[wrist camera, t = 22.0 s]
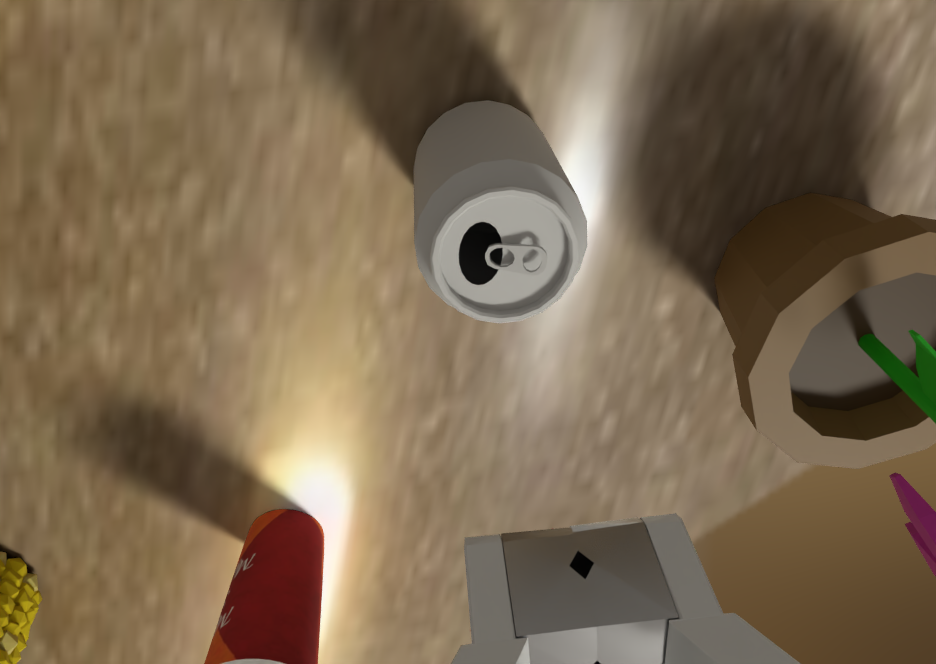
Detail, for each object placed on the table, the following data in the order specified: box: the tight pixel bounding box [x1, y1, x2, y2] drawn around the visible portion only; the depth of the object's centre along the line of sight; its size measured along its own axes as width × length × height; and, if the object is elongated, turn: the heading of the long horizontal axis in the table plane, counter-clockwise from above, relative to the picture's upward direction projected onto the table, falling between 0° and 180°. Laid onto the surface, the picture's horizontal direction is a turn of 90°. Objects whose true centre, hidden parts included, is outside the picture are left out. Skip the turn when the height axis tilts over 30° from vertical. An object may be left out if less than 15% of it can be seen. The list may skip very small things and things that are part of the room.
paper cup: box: [204, 509, 324, 664], centre depth 47 cm, size 8×8×14 cm
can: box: [414, 100, 587, 323], centre depth 34 cm, size 8×8×12 cm
